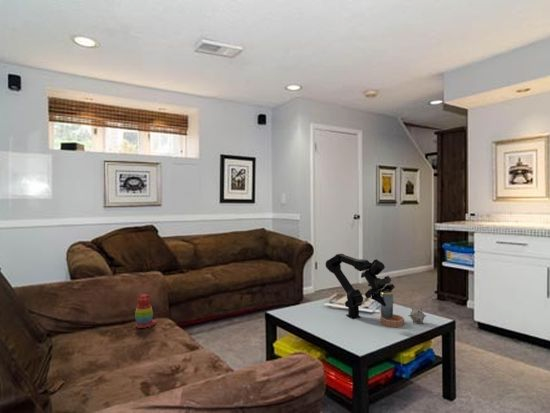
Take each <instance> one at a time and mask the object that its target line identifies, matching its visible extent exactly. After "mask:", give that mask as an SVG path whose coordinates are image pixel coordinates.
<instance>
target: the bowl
mask: <svg viewBox="0 0 550 413" xmlns="http://www.w3.org/2000/svg"><path fill="white" fill-rule="evenodd" d="M379 320H380V323H381V325H383V326H385V327H389V328H401V327H404V326H405V318H404V317H403V316H401V315H399V314H394V313H393V318H383V317H381V315H380V319H379Z"/></svg>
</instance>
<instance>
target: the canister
mask: <svg viewBox="0 0 550 413" xmlns="http://www.w3.org/2000/svg"><path fill="white" fill-rule="evenodd" d="M380 293H381V297H382V299H383V301H384V302H385V304H386V306H383V305H381V304H380V316H381V317H383V318H393V314H394V303H393V302H394V292H393V291H381V292H380Z"/></svg>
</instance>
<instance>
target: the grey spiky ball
mask: <svg viewBox="0 0 550 413" xmlns="http://www.w3.org/2000/svg"><path fill="white" fill-rule="evenodd" d="M408 317H410V318H411V320H412V322H413V323H412V324H415V323H421V324H422V325H423V324H424V322H423V321H424V319H425V317H427V315H426V314H425V313H424V312H423V309H422V308H420V309H419V308H413V307H412V308H411V311H410V314H409V315H408Z"/></svg>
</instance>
